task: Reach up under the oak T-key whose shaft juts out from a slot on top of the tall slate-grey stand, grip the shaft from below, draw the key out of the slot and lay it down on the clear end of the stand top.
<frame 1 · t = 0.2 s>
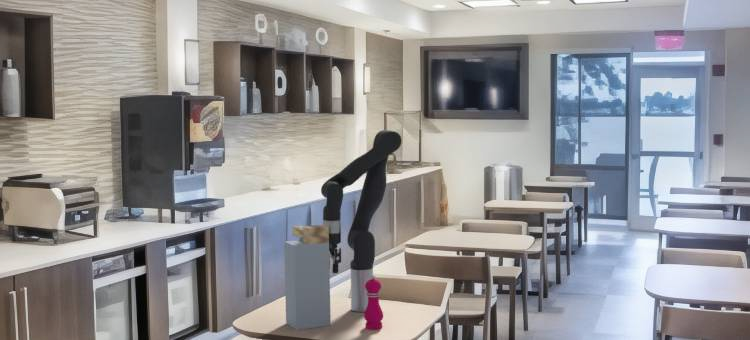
hand: (331, 271, 329), 17 cm above the table, tool pointing down, fingers open, 8 cm apart
t key: (311, 240, 315), point 32 cm above the table, touching stand
pepper mill: (373, 328, 308), on the table
stand: (308, 324, 314), on the table
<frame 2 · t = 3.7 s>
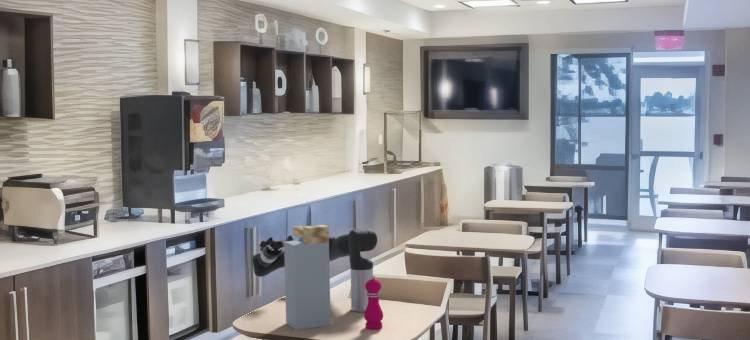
hand: (281, 238, 346), 28 cm above the table, tool pointing upward, fingers open, 8 cm apart
nothing on the table moved.
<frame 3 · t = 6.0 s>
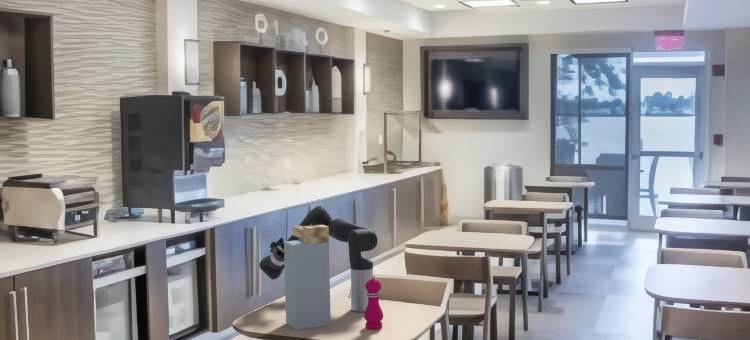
hand: (292, 238, 333), 30 cm above the table, tool pointing upward, fingers open, 8 cm apart
nothing on the table moved.
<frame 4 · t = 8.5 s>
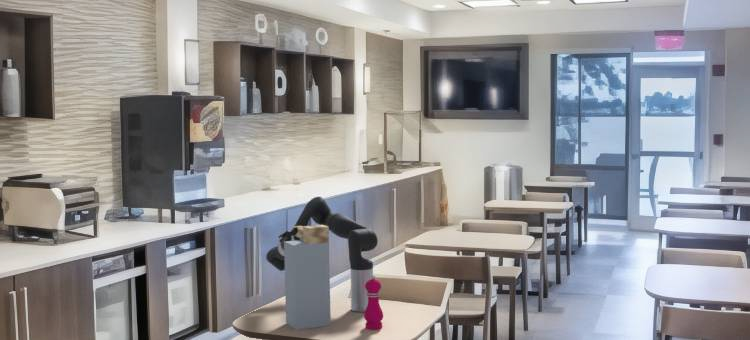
hand: (301, 228, 324), 35 cm above the table, tool pointing upward, fingers closed on t key, 3 cm apart
t key: (311, 240, 315), point 32 cm above the table, touching gripper, stand
everything else where it was.
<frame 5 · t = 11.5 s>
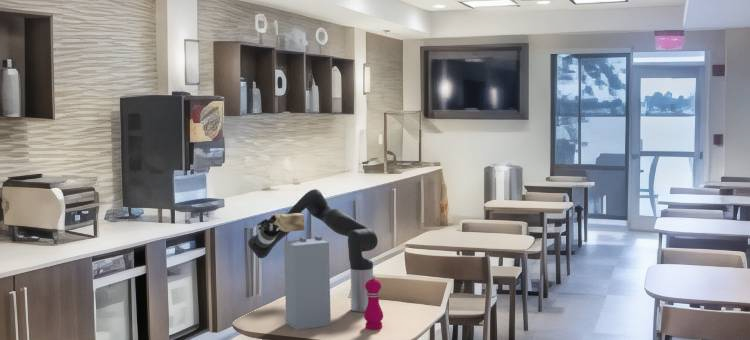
hand: (279, 216, 332), 39 cm above the table, tool pointing upward, fingers closed on t key, 3 cm apart
t key: (288, 228, 324), point 36 cm above the table, touching gripper
everything else where it was.
when the fingers open (36 cm above the table, at t = 14.6 s): t key stays where it is, resting on stand.
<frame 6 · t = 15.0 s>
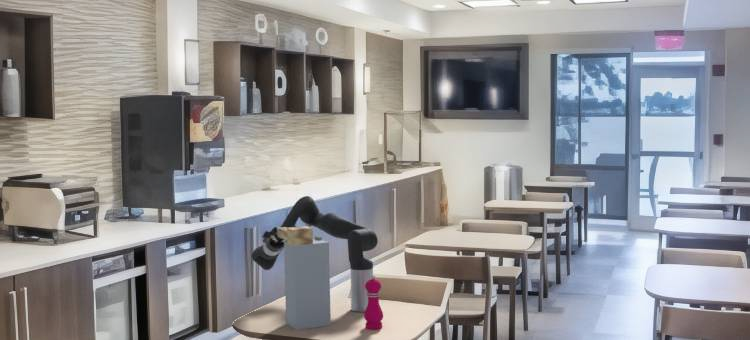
hand: (285, 228, 322), 36 cm above the table, tool pointing upward, fingers open, 7 cm apart
t key: (295, 241, 312), point 32 cm above the table, touching stand
everything else where it was.
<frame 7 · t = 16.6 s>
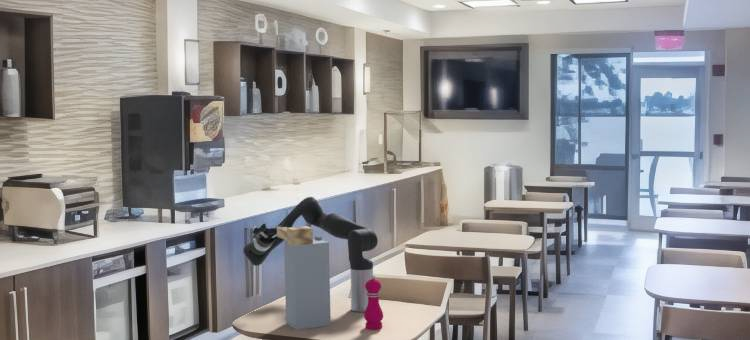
hand: (274, 224, 333), 36 cm above the table, tool pointing upward, fingers open, 8 cm apart
nothing on the table moved.
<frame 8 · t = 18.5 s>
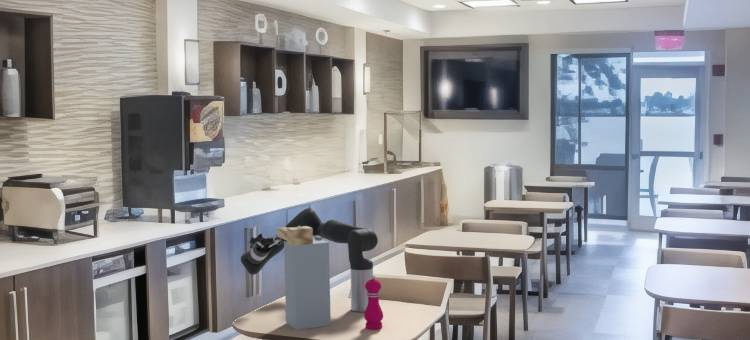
hand: (271, 234, 338), 31 cm above the table, tool pointing upward, fingers open, 8 cm apart
nothing on the table moved.
at the end: t key inside the target area (0.4 cm from its centre), point 32.0 cm above the table; the gripper is holding nothing; t key moved 6.5 cm from its start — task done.
